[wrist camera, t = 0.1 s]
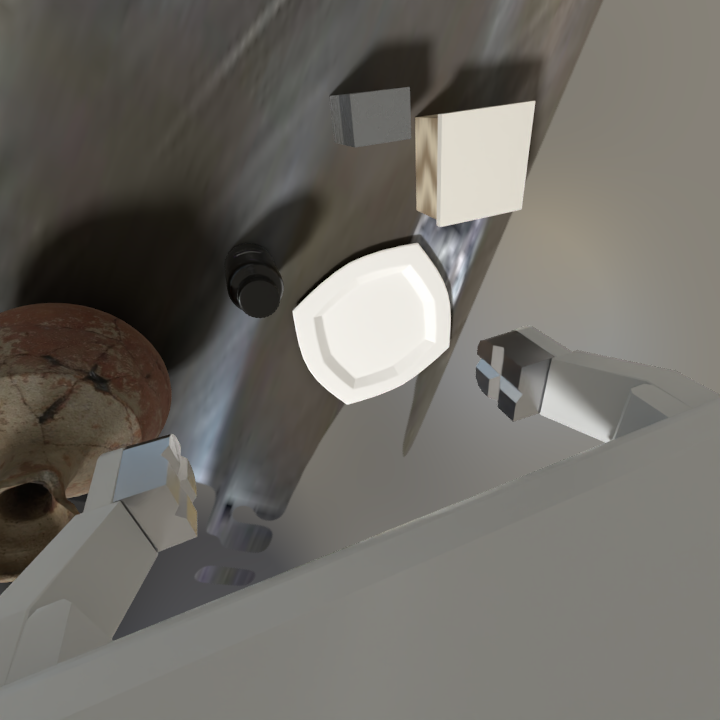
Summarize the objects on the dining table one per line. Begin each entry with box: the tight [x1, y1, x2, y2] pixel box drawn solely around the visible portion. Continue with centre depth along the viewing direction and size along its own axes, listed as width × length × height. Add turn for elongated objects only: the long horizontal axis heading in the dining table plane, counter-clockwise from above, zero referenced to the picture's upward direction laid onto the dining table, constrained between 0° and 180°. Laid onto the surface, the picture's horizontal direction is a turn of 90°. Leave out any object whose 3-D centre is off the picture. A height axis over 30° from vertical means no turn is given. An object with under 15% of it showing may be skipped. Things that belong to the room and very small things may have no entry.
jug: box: [0, 303, 171, 582], centre depth 42 cm, size 22×22×30 cm
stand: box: [415, 101, 535, 227], centre depth 54 cm, size 13×13×8 cm
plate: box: [293, 243, 451, 405], centre depth 67 cm, size 27×27×2 cm
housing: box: [329, 87, 411, 147], centre depth 47 cm, size 5×7×8 cm
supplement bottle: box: [224, 243, 284, 318], centre depth 50 cm, size 7×7×12 cm
